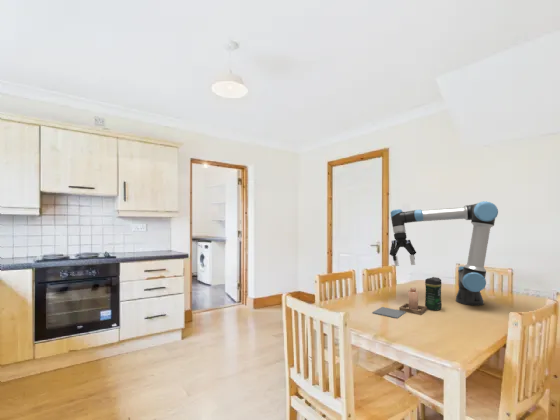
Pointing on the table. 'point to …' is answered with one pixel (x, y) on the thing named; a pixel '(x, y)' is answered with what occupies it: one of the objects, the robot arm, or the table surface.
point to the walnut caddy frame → (404, 308)
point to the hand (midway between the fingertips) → (405, 265)
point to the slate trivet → (389, 312)
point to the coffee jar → (433, 293)
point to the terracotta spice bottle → (413, 299)
